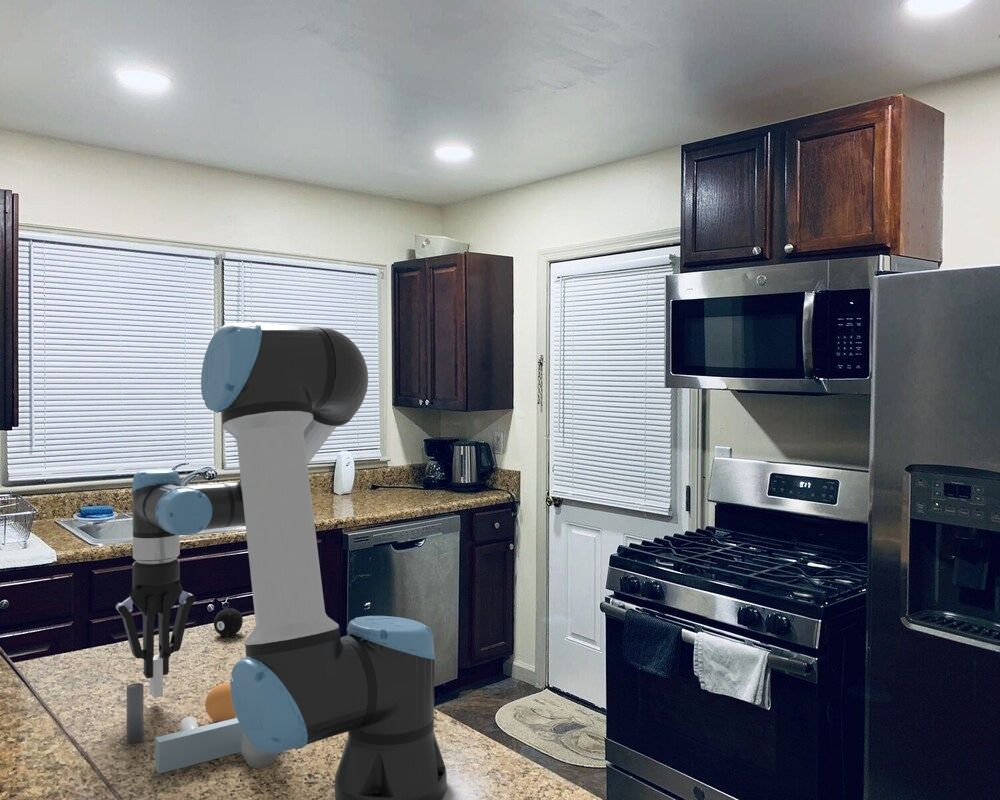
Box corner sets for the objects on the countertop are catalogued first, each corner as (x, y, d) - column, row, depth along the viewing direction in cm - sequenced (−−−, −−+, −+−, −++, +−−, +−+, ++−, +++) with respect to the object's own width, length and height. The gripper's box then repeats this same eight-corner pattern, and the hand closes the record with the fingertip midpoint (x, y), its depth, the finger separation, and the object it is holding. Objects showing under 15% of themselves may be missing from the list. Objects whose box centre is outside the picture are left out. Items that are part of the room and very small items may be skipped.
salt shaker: (269, 772, 115) (269, 682, 115) (233, 769, 116) (233, 679, 116) (288, 754, 120) (288, 668, 120) (253, 751, 122) (253, 665, 121)
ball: (254, 713, 134) (246, 678, 137) (233, 712, 129) (225, 676, 131) (223, 728, 134) (215, 693, 137) (201, 727, 129) (194, 691, 132)
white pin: (197, 728, 130) (205, 748, 122) (182, 733, 129) (188, 754, 121) (194, 713, 129) (202, 733, 122) (179, 719, 128) (185, 739, 121)
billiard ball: (247, 632, 182) (247, 606, 182) (232, 640, 176) (232, 613, 176) (224, 630, 184) (224, 604, 184) (208, 638, 178) (208, 611, 178)
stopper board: (280, 741, 125) (280, 712, 125) (159, 773, 114) (159, 742, 114) (275, 736, 127) (275, 708, 127) (155, 768, 116) (155, 737, 116)
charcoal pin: (145, 740, 125) (145, 686, 125) (128, 744, 124) (128, 689, 124) (141, 735, 127) (141, 682, 127) (125, 739, 126) (124, 685, 126)
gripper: (188, 551, 146) (188, 680, 147) (110, 560, 138) (110, 696, 139) (201, 558, 140) (201, 692, 141) (120, 567, 133) (120, 710, 133)
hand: (156, 694), depth 140 cm, fingers closed
